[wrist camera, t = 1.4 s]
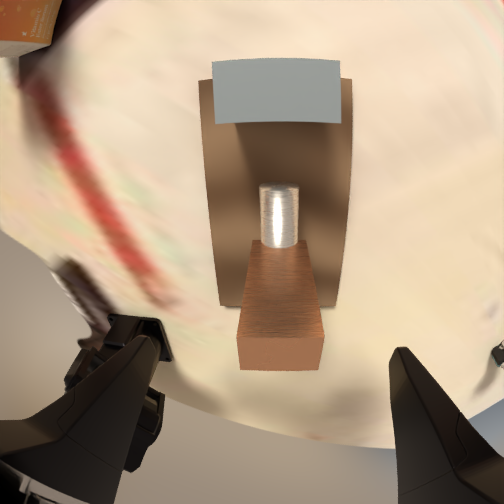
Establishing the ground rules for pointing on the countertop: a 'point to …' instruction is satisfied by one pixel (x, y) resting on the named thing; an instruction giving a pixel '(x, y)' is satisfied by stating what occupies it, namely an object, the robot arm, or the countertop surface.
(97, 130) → the countertop surface
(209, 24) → the countertop surface
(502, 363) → the push button
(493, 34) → the countertop surface
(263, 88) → the socket
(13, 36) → the small box
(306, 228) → the base plate
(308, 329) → the sliding bolt with handle
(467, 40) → the countertop surface
